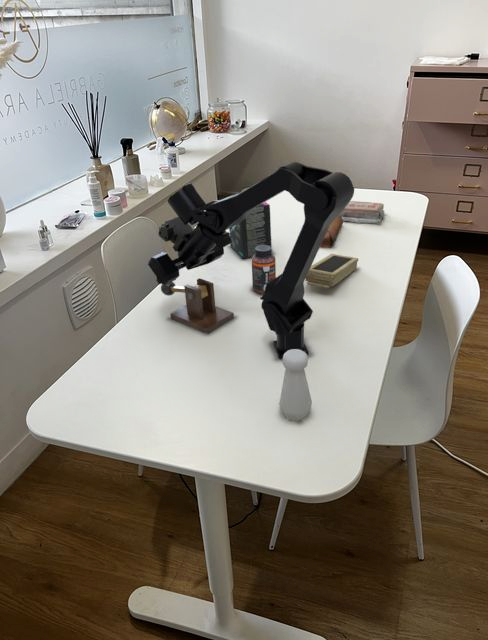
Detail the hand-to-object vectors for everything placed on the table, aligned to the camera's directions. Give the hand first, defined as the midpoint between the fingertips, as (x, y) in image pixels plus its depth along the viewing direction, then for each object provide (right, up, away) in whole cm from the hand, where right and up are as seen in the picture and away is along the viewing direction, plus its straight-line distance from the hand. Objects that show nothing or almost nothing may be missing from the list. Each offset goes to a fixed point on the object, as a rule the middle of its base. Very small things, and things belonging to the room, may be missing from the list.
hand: (172, 274), depth 132 cm
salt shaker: (+27, -29, -30) cm, 50 cm away
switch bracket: (+7, -10, 0) cm, 12 cm away
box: (+40, +1, +16) cm, 43 cm away
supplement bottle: (+22, -2, +12) cm, 25 cm away
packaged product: (+51, +26, +54) cm, 79 cm away
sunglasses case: (+40, +17, +41) cm, 60 cm away
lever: (+3, -5, +1) cm, 6 cm away
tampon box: (+18, +12, +33) cm, 40 cm away
